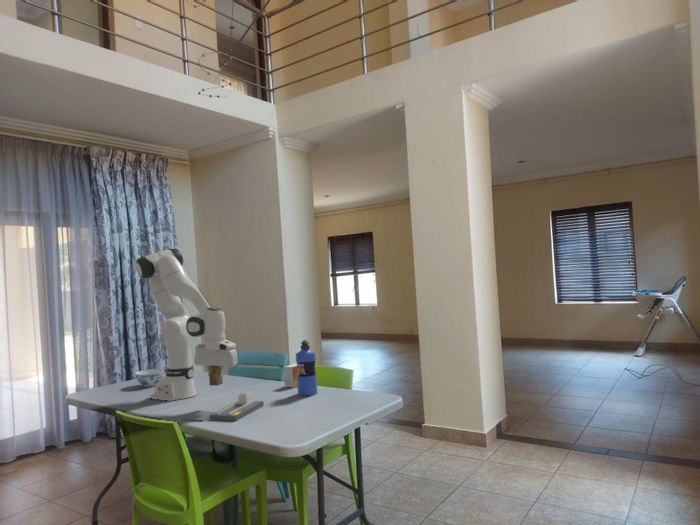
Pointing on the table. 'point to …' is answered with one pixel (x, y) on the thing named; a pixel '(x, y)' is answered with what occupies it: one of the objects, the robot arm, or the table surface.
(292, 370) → the small box
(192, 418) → the mat
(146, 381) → the chinaware
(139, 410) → the table surface
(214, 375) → the wooden block
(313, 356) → the water bottle
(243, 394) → the switch tab
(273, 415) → the table surface
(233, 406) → the switch panel
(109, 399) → the table surface
